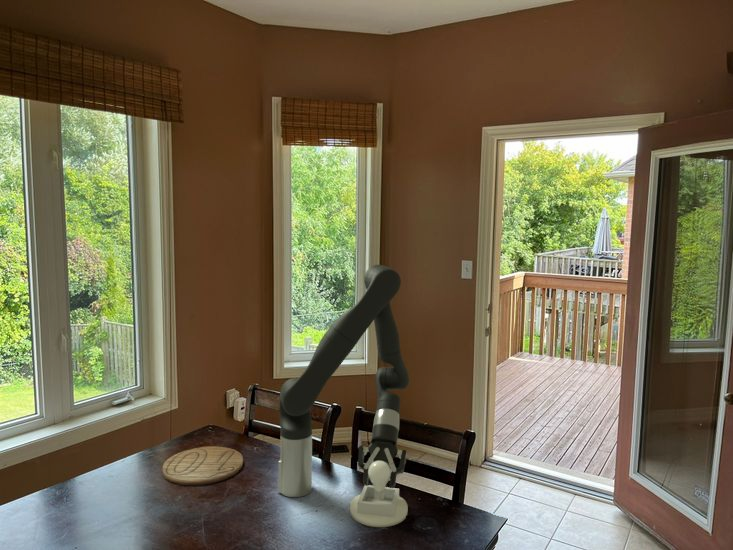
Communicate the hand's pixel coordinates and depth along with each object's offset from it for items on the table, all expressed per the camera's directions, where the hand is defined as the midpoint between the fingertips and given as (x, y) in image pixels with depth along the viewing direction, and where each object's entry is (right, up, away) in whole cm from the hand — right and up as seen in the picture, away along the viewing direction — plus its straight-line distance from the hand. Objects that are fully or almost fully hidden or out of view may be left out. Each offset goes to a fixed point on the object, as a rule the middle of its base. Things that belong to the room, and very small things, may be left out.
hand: (378, 485), depth 143 cm
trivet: (-56, -5, +27) cm, 63 cm away
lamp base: (0, -8, +2) cm, 8 cm away
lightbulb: (0, -5, +2) cm, 5 cm away
